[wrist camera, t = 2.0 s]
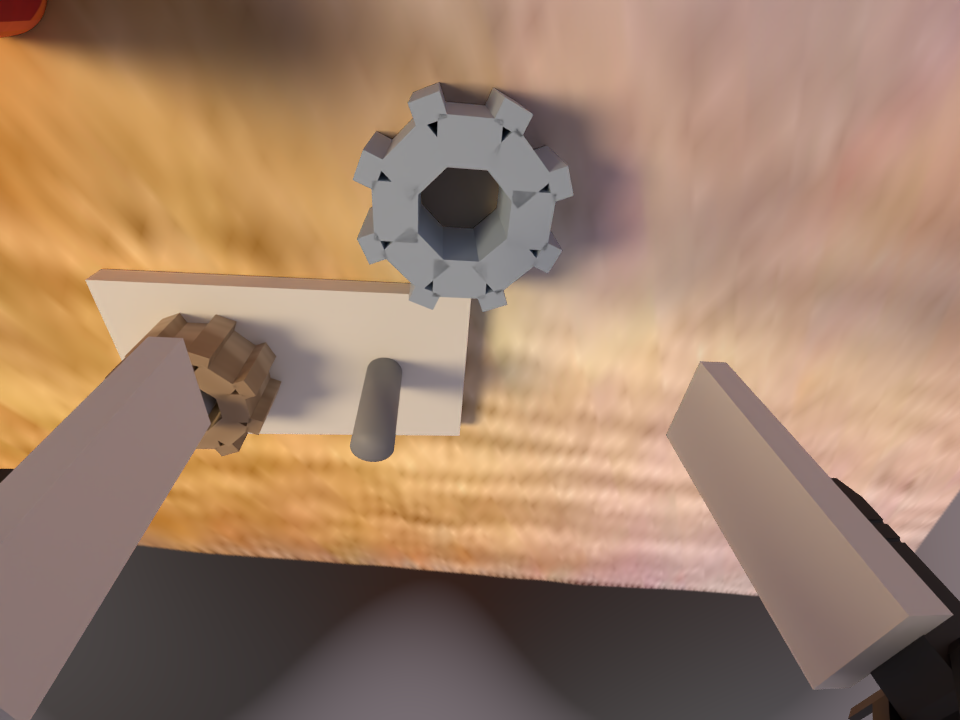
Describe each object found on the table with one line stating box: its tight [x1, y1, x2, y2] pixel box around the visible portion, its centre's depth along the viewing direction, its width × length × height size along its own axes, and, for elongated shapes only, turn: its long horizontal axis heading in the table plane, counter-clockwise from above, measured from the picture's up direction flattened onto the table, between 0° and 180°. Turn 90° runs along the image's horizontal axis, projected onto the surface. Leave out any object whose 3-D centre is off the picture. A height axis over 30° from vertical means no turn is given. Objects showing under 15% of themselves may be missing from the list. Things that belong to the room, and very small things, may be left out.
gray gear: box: [353, 83, 574, 312], centre depth 23 cm, size 10×10×5 cm
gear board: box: [86, 269, 471, 462], centre depth 28 cm, size 12×22×8 cm, turn 85°
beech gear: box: [105, 313, 282, 456], centre depth 28 cm, size 8×8×4 cm
